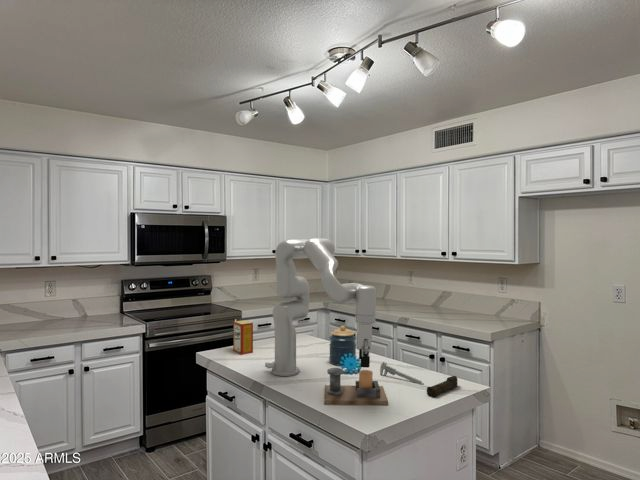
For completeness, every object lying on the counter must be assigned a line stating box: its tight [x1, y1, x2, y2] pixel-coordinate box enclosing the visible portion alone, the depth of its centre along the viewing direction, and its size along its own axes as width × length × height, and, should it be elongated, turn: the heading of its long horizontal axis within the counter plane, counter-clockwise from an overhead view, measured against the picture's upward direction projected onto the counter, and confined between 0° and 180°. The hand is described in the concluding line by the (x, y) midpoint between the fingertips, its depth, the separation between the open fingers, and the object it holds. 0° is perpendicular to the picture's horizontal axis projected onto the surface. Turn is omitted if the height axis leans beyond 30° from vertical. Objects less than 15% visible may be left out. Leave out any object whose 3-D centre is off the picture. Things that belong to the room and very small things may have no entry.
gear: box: [340, 353, 362, 375], centre depth 199 cm, size 11×6×10 cm
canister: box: [328, 325, 357, 366], centre depth 213 cm, size 13×13×18 cm
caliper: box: [379, 361, 425, 386], centre depth 187 cm, size 20×1×6 cm, turn 51°
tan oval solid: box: [358, 369, 374, 388], centre depth 167 cm, size 5×5×8 cm
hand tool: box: [426, 375, 458, 398], centre depth 173 cm, size 19×4×5 cm, turn 130°
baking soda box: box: [232, 319, 254, 356], centre depth 231 cm, size 10×6×16 cm
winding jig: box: [323, 367, 389, 406], centre depth 167 cm, size 23×16×10 cm
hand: (364, 363), depth 167 cm, fingers open, 9 cm apart
